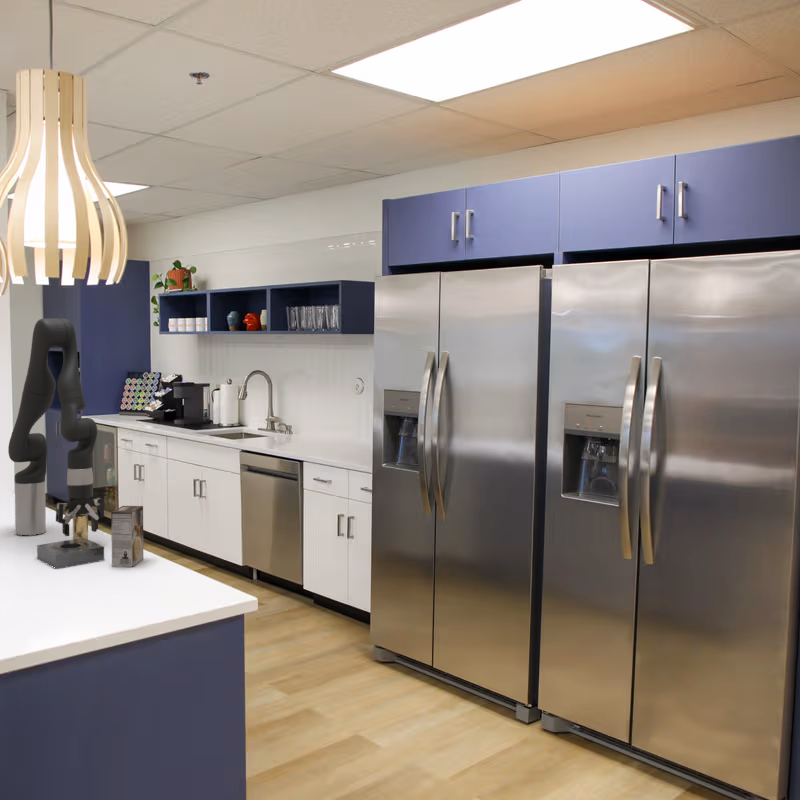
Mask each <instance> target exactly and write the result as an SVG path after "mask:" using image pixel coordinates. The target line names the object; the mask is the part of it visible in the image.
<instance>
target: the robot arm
mask: <svg viewBox="0 0 800 800" xmlns="http://www.w3.org/2000/svg"><path fill="white" fill-rule="evenodd" d="M77 345H78V344H77V335H76V330H75V326H74V324H73V322H72V321H71V320H69V319H68V318H64V317H63V318H57V317H56V318H50V317H48V318H40V319H38V320H37V321H36V322H35V325H34V328H33V332H32V339H31V348H30V355H29V356H30V358H29V363H28V368H27V373H26V377H25V381H24V385H23V390H22V393H21V400H20V404H19V409H18V413H17V416H16V421H15V424H14V426H13V429H12V432H11V436H10V439H9V442H8V450H7V451H8V453H7V454H8V458H9V459H10V460H11V462H14V463H28V462H29V465H27V466H26V468H24V469H21V470H20V471H18V472H17V473H15V474H14V512H15V513H14V521H15V522H14V523H15V525H14V527H15V529H14V532H15V533H16V534H15V535H17V534H18V535H17V536H22V535H29V536H36V534H38V535H42V534H44V533H46V530H47V527H46V526H47V524H46V519H47V518H46V515H47V514H46V510H47V509H46V475H47V462H48V459H47V458H48V442H47V439H46V436H45V435H44V434H42V433H41V432H36V433H31V430H32V428H33V427H34V425H35V424H37V422H38V421H39V420H40V419H41V418H42V417H43V416H44V415H45V413H46V412H47V411H48V410H49V409H50V407H51V406H52V405H53V400H54V397H55V392H56V391H57V394H58V398H59V399H58V400H59V403H60V406H61V411H60V413H61V414H60V415H61V416H60V433H61V435H62V437H63V438H64V440H65V441H67V442H70V443H75V442H78V443H77V446H75V447H74V448H72V449H70V450H69V451H68V453H67V471H66V472H67V473H66V499H67V501H66V502H64V503H63V502H57V503H56V504H55V505H56V506H55V508H56V509H55V522H57V523H58V524H62V534H63V535H64V536H65V537H70V522H71V520H73V517H74V516H75V515H81V514H87V515H88V516H89V517H91V521H90V523H91V525H90V527H91V528H90V530H91V532H93V533H95V532H97V531H98V529H99V519H102V518H104V517H105V507H104V506H105V505H104V499H103V498H102V497H101V498H100V497H96V498H94V474H93V458H92V457H93V452H94V448H95V444H96V441H97V436H98V426H97V423H96V422H95V420H94V419H93V418H91V417H80V418H78V417H77V416H78V415H77V414H78V412H81V411H83V410H84V409H85V408H86V401H85V400H86V399H85V396H84V392H83V387H82V384H81V383H82V382H81V378H80V373H79V372H80V370H79V369H80V368H79V359H78V356H79V355H78V346H77ZM50 349H61V351H62V356H63V357H62V358H63V361H62V367H61V370H60V373H59V375H58V379H57V384H56V379H55V377H54V375H53V373H52V371H51V369H50V367H49V364H48V355H49V351H50ZM56 388H57V389H56ZM94 505H95V506H96V512H95V510H94V509H93V506H94ZM66 508H67V509H68V510H67V511H66V512H65V514H64V511H65V510H66ZM41 533H42V534H41Z"/></svg>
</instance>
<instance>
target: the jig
mask: <svg viewBox="0 0 800 800" xmlns="http://www.w3.org/2000/svg"><path fill="white" fill-rule="evenodd" d="M36 554H37V555H36V556H37V557H36V558H38V560H39V559H40V561H41V562H43V563H45V564H46V563H47V564H46V565H48V564H49V565H48V566H50V565H51V567H52V566H53V567H52V568H54V567H55V568H54V569H56V568H57V569H62V568H61V567H63V568H66V566H68V567H73V566H72V565H74V566H78V565H77V564H79V565H84V564H83V563H85V564H89V563H88V562H90V563H95V562H94V561H96V562H100V561H99V560H102V561H105V546H103V545H102V544H99V543H96V542H94V541H92V540H90V539H89V538H88V539H86V538H80V539H73V538H72V539H68V540H60V541H55V542H49V543H48V542H47V543H42V544H37V545H36Z"/></svg>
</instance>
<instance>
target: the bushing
mask: <svg viewBox="0 0 800 800" xmlns="http://www.w3.org/2000/svg"><path fill="white" fill-rule="evenodd" d="M80 538H86V539H88V540H89V514H88V513H87V514H81V515H75V516H74V517H73V518H72V540H73V539H80Z"/></svg>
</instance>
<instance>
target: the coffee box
mask: <svg viewBox="0 0 800 800" xmlns="http://www.w3.org/2000/svg"><path fill="white" fill-rule="evenodd" d="M110 516H111V517H110V518H111V522H110V523H111V531H110V532H111V566H112V567H114V566H126V567H125V568H127V567H128V568H133V567H134V566H136V565H137V564H138V563H140V562H141V561H142V560H143V559H144V506H143V505H122V506H120V507H118V508H116V509H114V510H112V511H111V512H110ZM132 566H133V567H132Z"/></svg>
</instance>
